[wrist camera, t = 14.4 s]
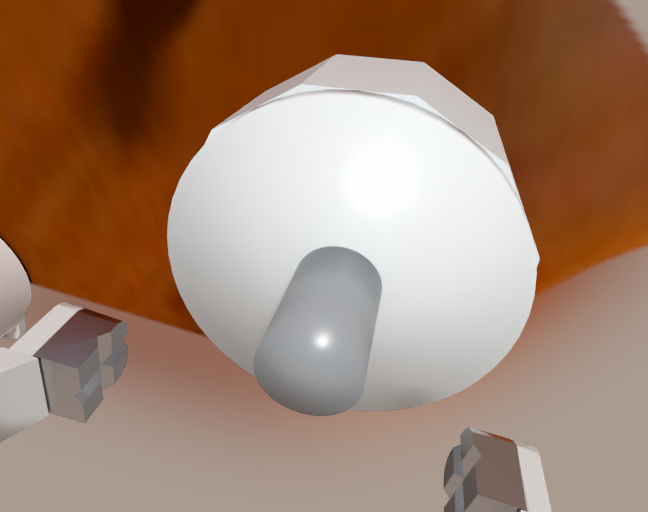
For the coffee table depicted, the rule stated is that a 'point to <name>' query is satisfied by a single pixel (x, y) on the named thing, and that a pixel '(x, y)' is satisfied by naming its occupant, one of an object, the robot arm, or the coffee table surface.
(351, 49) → the coffee table surface
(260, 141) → the cap
